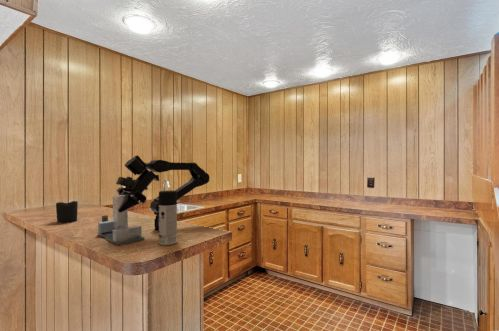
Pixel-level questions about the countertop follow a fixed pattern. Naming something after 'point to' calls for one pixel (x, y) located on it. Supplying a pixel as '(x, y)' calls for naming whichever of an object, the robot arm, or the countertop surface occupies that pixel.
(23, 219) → the countertop surface
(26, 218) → the countertop surface
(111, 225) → the sliding jaw
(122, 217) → the steel block
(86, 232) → the countertop surface
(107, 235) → the vise base
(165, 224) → the spray can
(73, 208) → the pen holder
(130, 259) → the countertop surface
